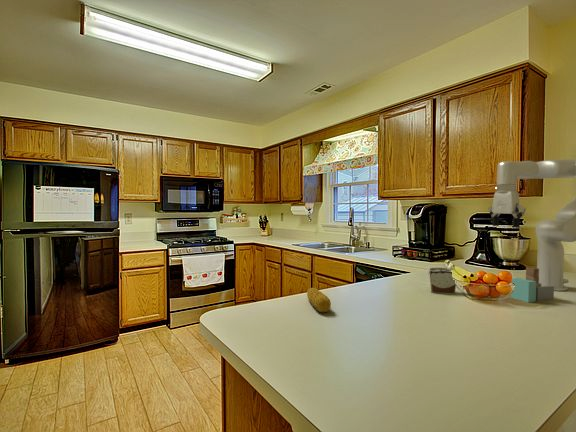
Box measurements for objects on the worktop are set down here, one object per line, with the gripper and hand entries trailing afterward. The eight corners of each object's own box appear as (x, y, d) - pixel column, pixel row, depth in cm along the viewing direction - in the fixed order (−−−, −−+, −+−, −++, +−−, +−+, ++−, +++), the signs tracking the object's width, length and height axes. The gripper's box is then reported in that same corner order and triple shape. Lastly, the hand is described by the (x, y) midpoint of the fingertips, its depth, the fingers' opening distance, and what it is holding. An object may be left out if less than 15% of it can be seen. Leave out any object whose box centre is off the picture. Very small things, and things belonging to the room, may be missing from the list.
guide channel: (538, 295, 135) (538, 283, 135) (553, 299, 129) (554, 286, 129) (523, 296, 132) (523, 284, 132) (537, 300, 127) (538, 287, 126)
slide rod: (530, 289, 131) (531, 267, 131) (538, 290, 128) (539, 268, 128) (518, 290, 129) (518, 268, 129) (525, 292, 126) (526, 269, 126)
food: (333, 314, 108) (333, 297, 108) (316, 315, 107) (317, 297, 107) (316, 297, 128) (316, 282, 128) (302, 298, 127) (302, 283, 127)
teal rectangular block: (518, 296, 132) (518, 277, 132) (535, 301, 125) (536, 281, 125) (510, 297, 131) (511, 278, 131) (528, 302, 124) (528, 282, 124)
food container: (452, 290, 142) (453, 267, 141) (458, 294, 136) (459, 270, 135) (423, 289, 143) (424, 267, 143) (428, 292, 137) (428, 269, 136)
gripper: (483, 189, 152) (482, 225, 153) (519, 187, 136) (518, 227, 136) (495, 190, 155) (494, 225, 155) (532, 188, 138) (531, 227, 139)
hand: (505, 226), depth 146 cm, fingers open, 9 cm apart
